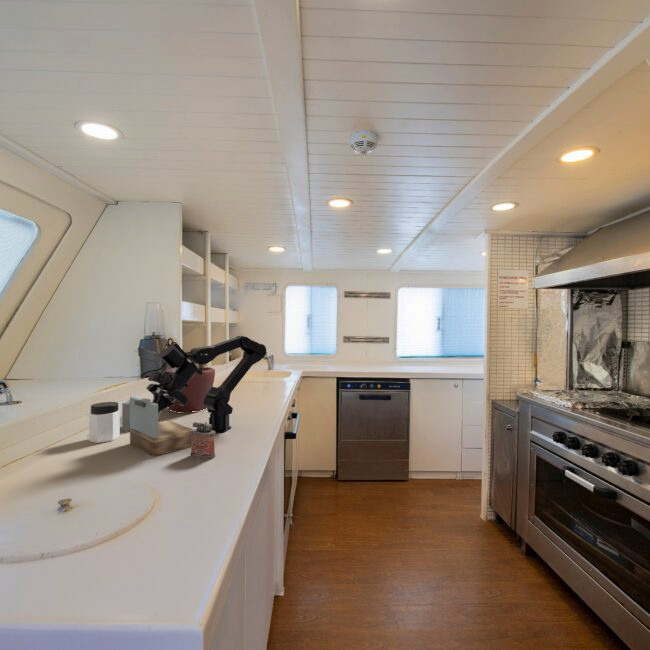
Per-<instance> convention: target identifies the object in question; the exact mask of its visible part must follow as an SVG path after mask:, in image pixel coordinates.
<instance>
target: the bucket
mask: <svg viewBox="0 0 650 650" xmlns="http://www.w3.org/2000/svg"><path fill="white" fill-rule="evenodd" d="M197 366H198V367H202V375H196V374H195V375H194V376H193V377H192V378H191V380H190V381H189V382H188V383H187V384H188V387H187V388H185V387H184V388H183V389H182V390H181V392H182V393H183V394H185V395H186V396H187V397H188V402H187V403H186V404H185V405H184V406H182V405H179V402H178V401H177V400H175V401H174V402H173V403H174V405H172V406H170V407H168V410H169V411H170V410H172V411H176V412H192V411H200V410H203V409H206V407H205V406H204V398H205V397H206V395H205V394H207V393H208V392H209V391H210V389H211V388H212V387H214V382H215V375H216V373H215V372H216V369H215V368H214V367H211V366H210V367H209V366H207V367H206V366H205V364H197ZM177 369H178V368H168V369H166V370H164V371H167V372H170V374H173V373H174V372H175V371H176V370H177ZM206 410H207V409H206ZM203 411H204V410H203ZM200 412H201V411H200Z"/></svg>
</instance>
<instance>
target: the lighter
mask: <svg viewBox="0 0 650 650" xmlns="http://www.w3.org/2000/svg"><path fill="white" fill-rule="evenodd" d="M192 427H193V428H194V430H191V447H190V449H191V450H190V457H191V458H194V457H196V459H200V458H203V460H213V459H215V458H216V450H215V449H216V441H215V438H216V437H215V435H216V432H215V431H212V430H211V424H209V423H208V422H207V421H204V422H198V421H197V422H196V421H194V422H192ZM195 428H196V429H195ZM214 457H215V458H214ZM212 458H213V459H212Z"/></svg>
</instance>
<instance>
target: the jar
mask: <svg viewBox="0 0 650 650" xmlns="http://www.w3.org/2000/svg"><path fill="white" fill-rule="evenodd" d="M120 411H121V410H120V409H119V402H117V401H103V402H96V403H93V404H91V405H90V413H88V441H89V442H91V443H95V444H101V443H107V442H113V441H114V440H116V439H118V438H120V436H121V435H120V434H121V433H120V432H121V431H120V429H121V428H120V425H121V423H120V422H121V420H120V419H121V416H120V414H121V413H120Z"/></svg>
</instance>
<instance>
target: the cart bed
mask: <svg viewBox="0 0 650 650" xmlns="http://www.w3.org/2000/svg"><path fill="white" fill-rule="evenodd" d="M194 429H195V428H194ZM194 429H193V428H190V427H188V426H185V425H182V424H180V423H177V422H174V421H171V420H166V421H160V422H159V421H158V438H155V439H154V438H152V437H149V436H147V435H145V434H143V433H141V432H139V431H136V430H134V429H132V428H130V431H129V444H130V445H131V446H134V447H136V448H138V449H139V450H141V451H142V452H145V453H147V454H148V455H150V456H153V457H158V456H161V454H162V455H165V454H168V453H172V451H173V452H176V451H180V450H183V448H184V449H187V448H191V447H190V446H191V430H194ZM164 453H165V454H164ZM157 455H158V456H157Z"/></svg>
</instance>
